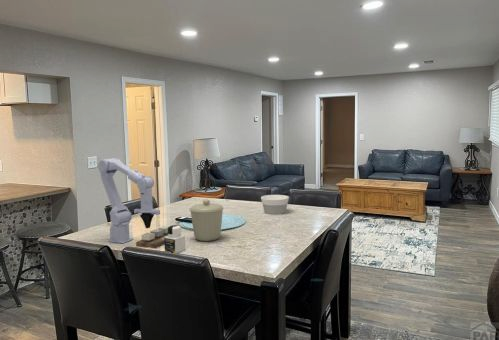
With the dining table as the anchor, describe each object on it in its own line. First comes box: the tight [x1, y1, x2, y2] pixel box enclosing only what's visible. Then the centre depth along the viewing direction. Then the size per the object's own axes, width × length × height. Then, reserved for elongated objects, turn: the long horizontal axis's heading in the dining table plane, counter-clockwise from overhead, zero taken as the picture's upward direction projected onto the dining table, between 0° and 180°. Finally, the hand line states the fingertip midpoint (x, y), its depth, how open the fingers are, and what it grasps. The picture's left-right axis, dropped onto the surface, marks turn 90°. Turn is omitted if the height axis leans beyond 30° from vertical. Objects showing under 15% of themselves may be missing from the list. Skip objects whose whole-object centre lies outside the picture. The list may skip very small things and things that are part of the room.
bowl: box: [260, 194, 290, 216], centre depth 266 cm, size 19×19×11 cm
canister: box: [188, 198, 225, 242], centre depth 204 cm, size 18×18×21 cm
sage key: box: [157, 225, 169, 233], centre depth 209 cm, size 5×5×2 cm
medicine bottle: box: [163, 224, 186, 254], centre depth 186 cm, size 7×7×12 cm
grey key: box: [149, 228, 163, 237], centre depth 203 cm, size 5×5×2 cm
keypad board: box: [135, 233, 182, 249], centre depth 203 cm, size 12×22×2 cm, turn 157°
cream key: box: [141, 232, 155, 240], centre depth 197 cm, size 5×5×2 cm
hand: (147, 227), depth 196 cm, fingers closed
